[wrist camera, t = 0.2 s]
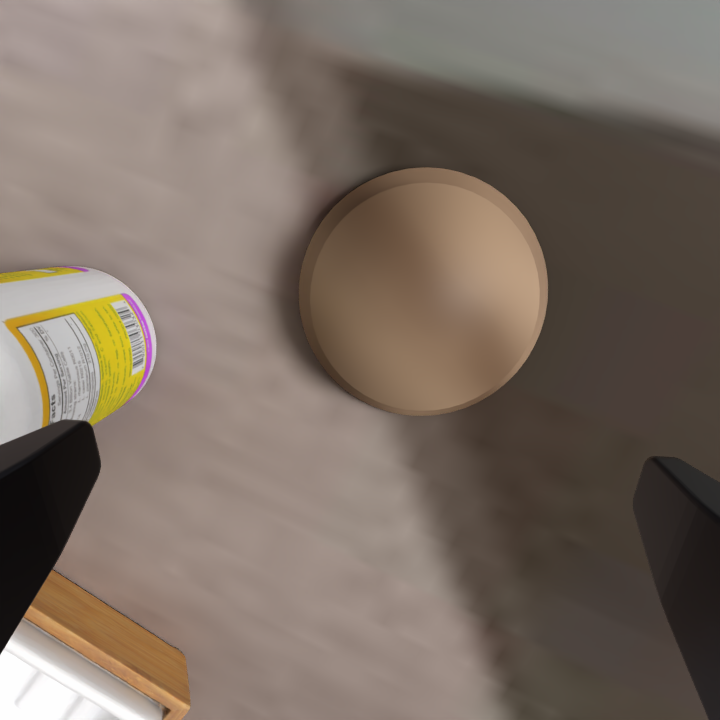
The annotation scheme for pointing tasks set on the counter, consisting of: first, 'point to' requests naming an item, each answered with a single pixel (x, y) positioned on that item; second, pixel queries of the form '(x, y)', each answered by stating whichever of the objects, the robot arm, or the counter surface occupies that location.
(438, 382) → the beige saucer
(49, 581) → the soap dish
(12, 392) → the supplement bottle
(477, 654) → the counter surface
